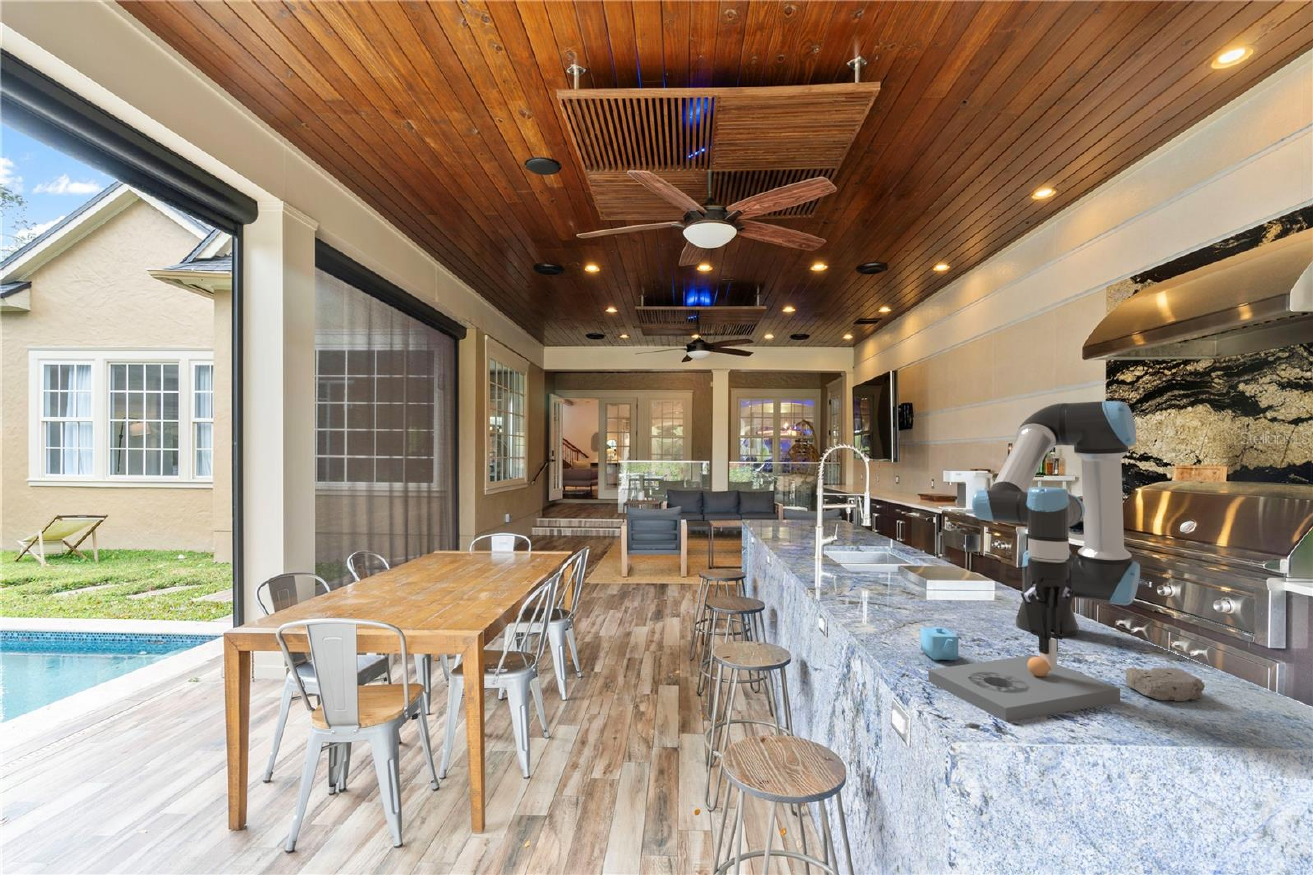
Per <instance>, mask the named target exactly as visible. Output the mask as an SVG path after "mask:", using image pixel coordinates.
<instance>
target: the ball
mask: <svg viewBox="0 0 1313 875" xmlns="http://www.w3.org/2000/svg"><path fill="white" fill-rule="evenodd" d="M1027 666H1028V669H1029V671H1030V672H1031V673H1032V674H1033V675H1035V676H1039V677H1042V676H1045V675H1047V674H1048V672H1049V665H1048V663H1047V662H1046V660H1044V659H1043V658H1041V657H1040V656H1036V657H1032V658H1031V659H1029V661H1028V664H1027Z"/></svg>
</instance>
